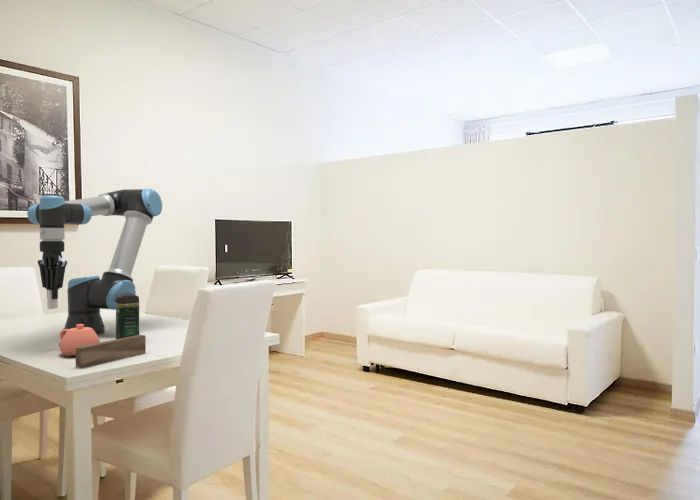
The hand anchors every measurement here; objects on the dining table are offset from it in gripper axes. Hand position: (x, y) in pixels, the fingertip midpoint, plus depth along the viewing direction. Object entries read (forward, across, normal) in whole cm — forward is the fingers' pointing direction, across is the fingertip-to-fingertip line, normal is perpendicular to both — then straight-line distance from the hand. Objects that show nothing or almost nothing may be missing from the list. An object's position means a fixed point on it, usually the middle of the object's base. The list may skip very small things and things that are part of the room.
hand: (52, 308), depth 187 cm
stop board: (+15, +30, 0) cm, 33 cm away
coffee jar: (+15, +11, +22) cm, 29 cm away
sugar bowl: (+15, +13, 0) cm, 20 cm away
